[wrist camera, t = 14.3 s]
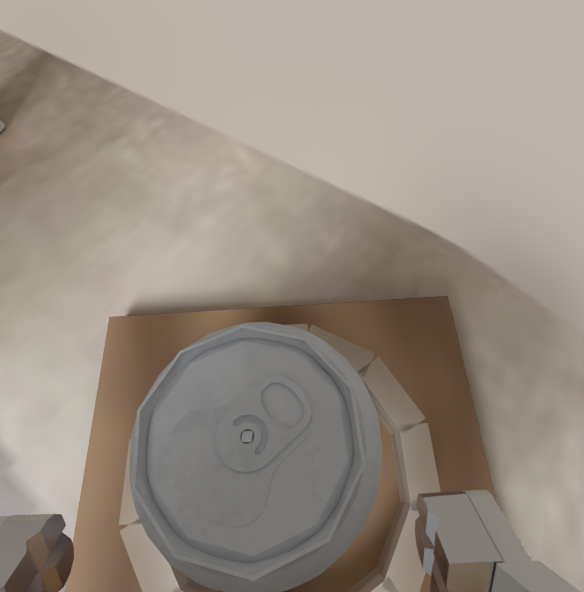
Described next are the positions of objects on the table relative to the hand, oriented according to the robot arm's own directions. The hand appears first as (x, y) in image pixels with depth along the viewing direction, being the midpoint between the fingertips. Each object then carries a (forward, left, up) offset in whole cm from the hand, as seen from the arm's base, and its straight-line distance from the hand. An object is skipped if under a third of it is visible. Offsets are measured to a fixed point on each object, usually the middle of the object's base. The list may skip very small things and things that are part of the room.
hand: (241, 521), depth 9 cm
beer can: (+1, +2, -9) cm, 9 cm away
